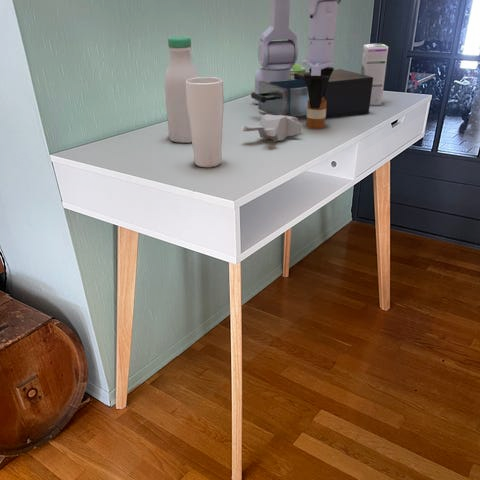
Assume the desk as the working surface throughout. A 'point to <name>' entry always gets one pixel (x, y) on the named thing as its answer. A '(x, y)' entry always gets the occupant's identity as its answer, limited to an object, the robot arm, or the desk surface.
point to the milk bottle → (178, 88)
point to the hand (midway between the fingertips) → (316, 104)
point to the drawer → (283, 97)
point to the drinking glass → (205, 119)
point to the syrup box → (375, 69)
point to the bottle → (316, 116)
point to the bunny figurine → (276, 127)
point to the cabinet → (346, 93)
